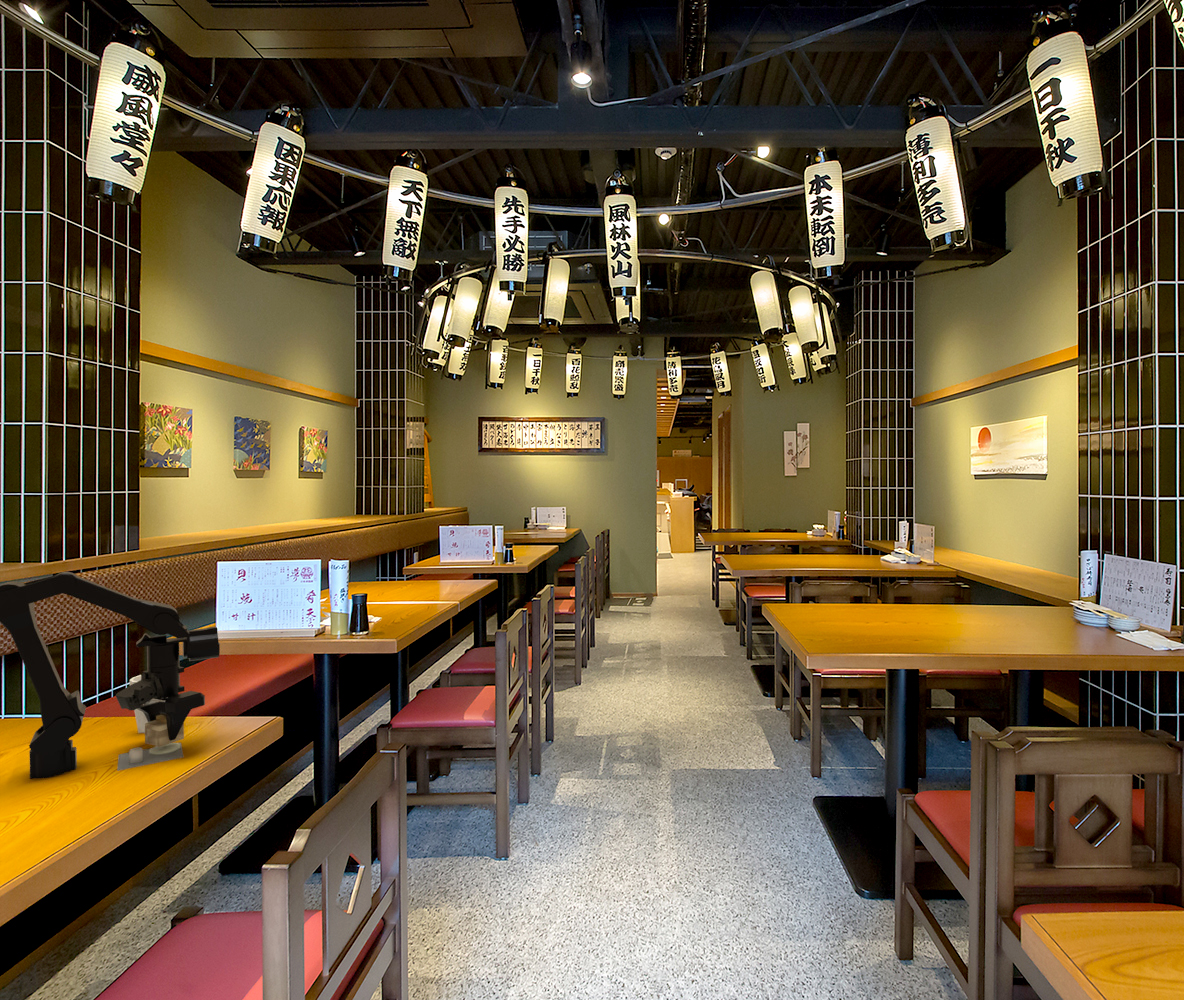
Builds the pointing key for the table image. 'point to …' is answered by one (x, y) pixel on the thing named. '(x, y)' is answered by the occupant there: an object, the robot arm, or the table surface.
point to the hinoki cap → (160, 732)
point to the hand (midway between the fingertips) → (164, 738)
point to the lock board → (149, 755)
